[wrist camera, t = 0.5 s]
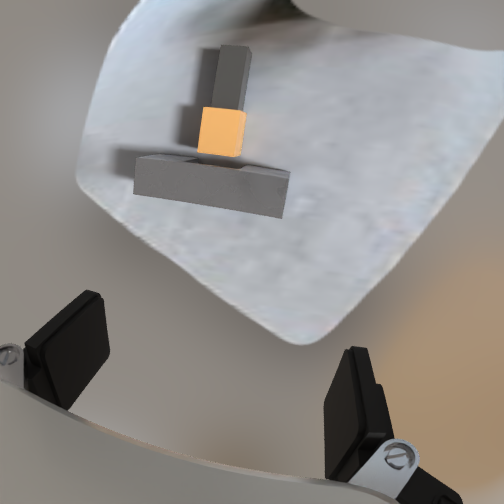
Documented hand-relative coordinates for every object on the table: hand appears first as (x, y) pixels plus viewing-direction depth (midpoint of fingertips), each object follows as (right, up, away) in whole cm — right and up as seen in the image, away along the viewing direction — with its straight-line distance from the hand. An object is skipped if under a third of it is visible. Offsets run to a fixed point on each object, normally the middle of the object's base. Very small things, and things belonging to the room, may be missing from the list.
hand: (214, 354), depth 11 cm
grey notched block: (-2, +13, +26) cm, 29 cm away
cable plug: (-1, +21, +22) cm, 31 cm away
